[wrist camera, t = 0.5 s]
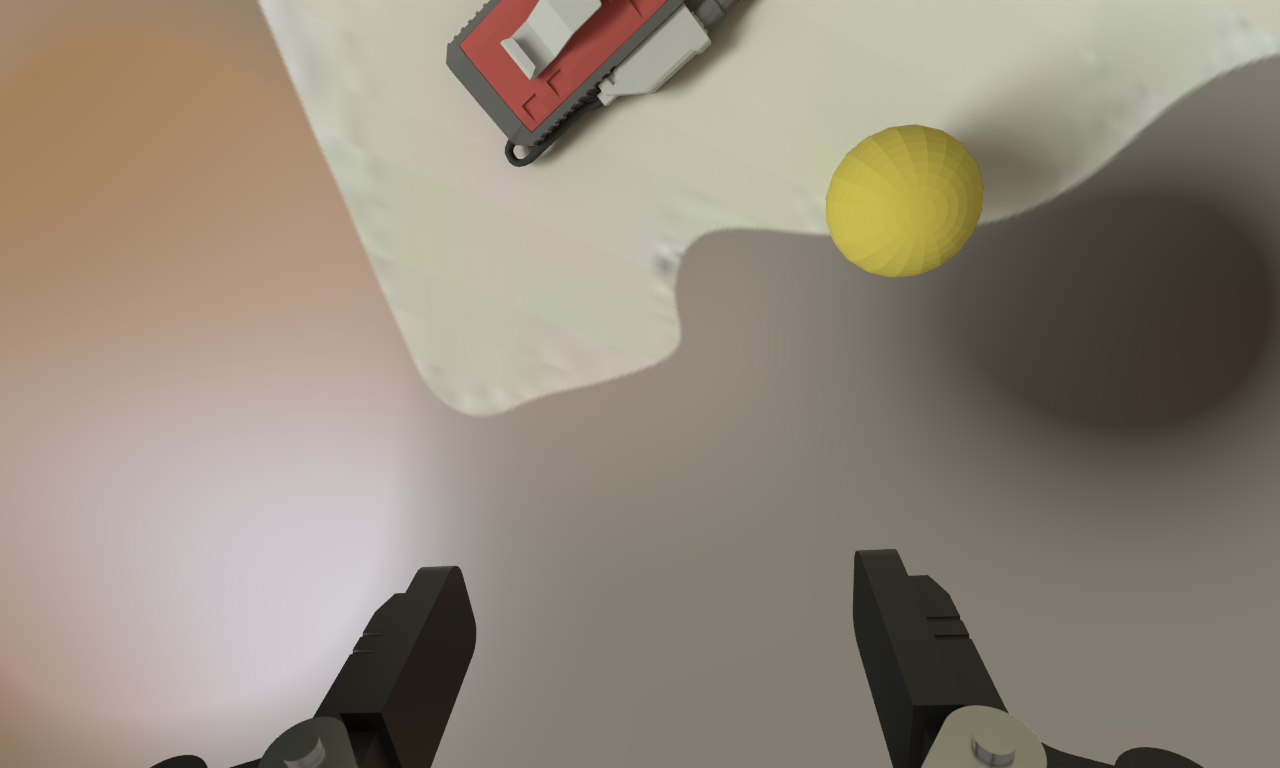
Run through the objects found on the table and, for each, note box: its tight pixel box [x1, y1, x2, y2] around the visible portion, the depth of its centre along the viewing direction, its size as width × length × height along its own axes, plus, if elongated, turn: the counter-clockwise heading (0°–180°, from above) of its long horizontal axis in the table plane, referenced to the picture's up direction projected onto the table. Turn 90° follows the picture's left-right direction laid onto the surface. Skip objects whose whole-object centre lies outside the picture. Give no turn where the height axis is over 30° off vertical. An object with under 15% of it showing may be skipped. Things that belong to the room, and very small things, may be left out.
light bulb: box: [826, 125, 983, 277], centre depth 32 cm, size 7×7×10 cm
